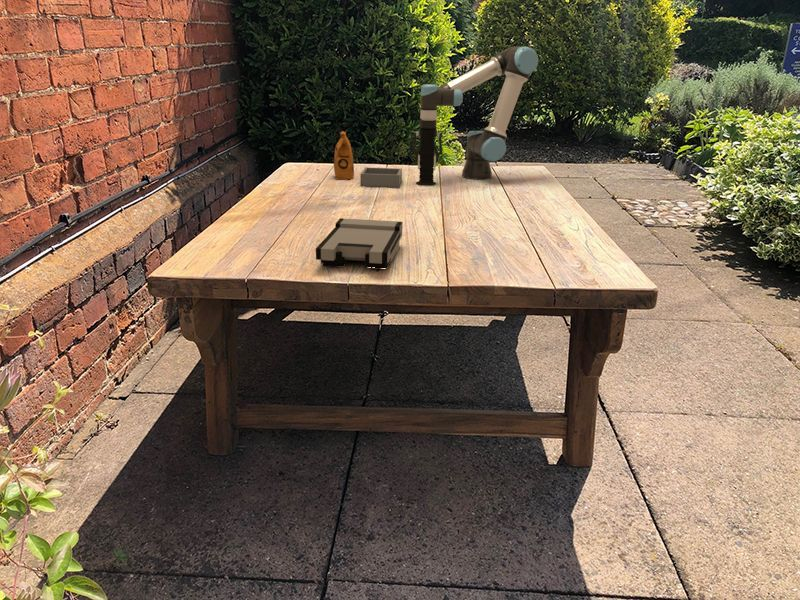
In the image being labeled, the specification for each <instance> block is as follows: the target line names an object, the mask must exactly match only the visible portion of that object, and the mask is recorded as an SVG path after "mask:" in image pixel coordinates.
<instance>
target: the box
mask: <svg viewBox="0 0 800 600" xmlns="http://www.w3.org/2000/svg"><path fill="white" fill-rule="evenodd" d="M359 175H360V186H365V187H364V188H381V187H387V188H388V189H400V187H401V184H402V182H403V168H397V167H395V168H390V167H364V168H363V170H362V171H361V172H360V173H359Z"/></svg>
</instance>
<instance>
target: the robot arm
mask: <svg viewBox="0 0 800 600" xmlns="http://www.w3.org/2000/svg"><path fill="white" fill-rule="evenodd" d="M538 66H539V56H538V53H537V51H536V50H534V48H531V47H529V46H526V45H525V46H510V47H508V48H506V49H504V50H503V51H501V52H499V53H497V54H495V55H494V56H492V57H491V58H490V60H488V61H486V62H485V63H483V64H481V65H479V66H477V67H475V68H473V69H471V70H470V71H467V72H465V73H462V74H461V75H460V76H458V77H456V78H454V79H452V80H450V81H449V82H446V83H444V84H443V85H441V86H438V85H437V84H428V83H427V84H422V85H421V91H420V112H419V113H420V117H419V119H420V121H419V130H418V131H413V143H412V149H411V150H412V152H411V153H412V154H413V155H415V162H416V163H417V170H420V152H421V151H420V149H421V142H419V145H418V147H417V140H418V139H417V137H418V136H421V134H422V132H421V129H433V130H435V131H434V137H436V135H437V138H438V148H437V145H436V141H435V142H434V145H433V146H434V165H433V166H434V167H433V168H434V171H436V167H437V165H436V164H437V163H439V156H440V155H441V156H442V155H443V145H442V144H443V143H442V141H443V140H442V138H443V132H439V131H438V130H437V116H438V114H437V113H438V107H458V106H461V105H462V103H463V99H464V96H463V93H465V92H467V91H469V90H471V89H473V88H475V87H477V86H479V85H480V84H482V83H484V82H486V81H488V80H491V79H492V78H494V77H496V76H498V77H500V76H503V75H505V80H504V83H503V85H502V88H501V90H500V94H499V97H498V99H497V102H496V104H495V107H494V109H493V110H494V111H493V113H492V116H491V118H490V121H489V123H488V126H487V127H484V128H483V130H470V131H469V132H467V138H466V141H467V142H466V161H465V163H464V166H463V168H462V171H461V177H462V176H464V177H463V178H465V177H469V178H468V179H470V178H477V179H476V180H487V178H489V179H491V177H492V176H493V173H492V168H491V164H490V162H497V161H499V160H501V159H502V158H503V157H504V155H505V154H506V152H507V143H506V140H507V138H508V136H507V132H506V131H507V129H508V126H509V123H510V121H511V118H512V115H513V113H514V109H515V107H516V104H517V101H518V99H519V96H520V93H521V90H522V88H523V85H524V83H526V82H527V81H529V78H530V76H531V73H534V72H535V71H536V69H537V68H538ZM434 140H435V139H434ZM434 140H433V141H434ZM420 141H422V139H420ZM416 147H417V150H416ZM438 149H439V150H438Z"/></svg>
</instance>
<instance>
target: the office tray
mask: <svg viewBox="0 0 800 600" xmlns="http://www.w3.org/2000/svg"><path fill="white" fill-rule="evenodd" d="M402 236H403V221H397V220H394V221H393V220H379V219H378V220H376V219H375V220H374V219H359V218H358V219H357V218H339V219H338V220H337V221H336V222H335V227H333V229H332V230H331V231H330V233H328V235H326V236H325V237H324V239H323V240H322V241H321V242H320V243H319V244H318V245H317V246H316V248H315V261H316V260H317V261H320V264H322V266H323V267H324V266H325V267H335V266H343V267H344V266H345V265H346V264H347V262H348V261H361V262H362V261H363V262H364V266H365V267H366V268H367V267H371V268H372V267H375V268H387V267H388V268H389V266H390V264H391V263H392V262H393V260H394V257H395V255H396V253H397V251H398V250H399V248H400V240H401V238H402ZM346 261H347V262H346ZM389 263H390V264H389ZM344 264H345V265H344ZM388 265H389V266H388ZM388 268H387V269H388Z"/></svg>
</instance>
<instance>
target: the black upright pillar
mask: <svg viewBox="0 0 800 600" xmlns="http://www.w3.org/2000/svg"><path fill="white" fill-rule="evenodd" d="M434 131H435V130H433V129H421V132H422V134H421V135H420V142H421V149H420V151H419V155H420V169H419V176H418V178H419V180H418V181H415V185H416V186H417V185H418V186H424V187H425V186H426V187H427V186H428V187H431V186H436V185H437V182H435V181H434V171H435V170H434V155H435V150H434V146H433V145H434V142H435V143H436V138H435V137H436V136H435V137H434ZM421 139H422V141H421ZM433 140H434V141H433ZM420 142H419V143H420Z"/></svg>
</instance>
